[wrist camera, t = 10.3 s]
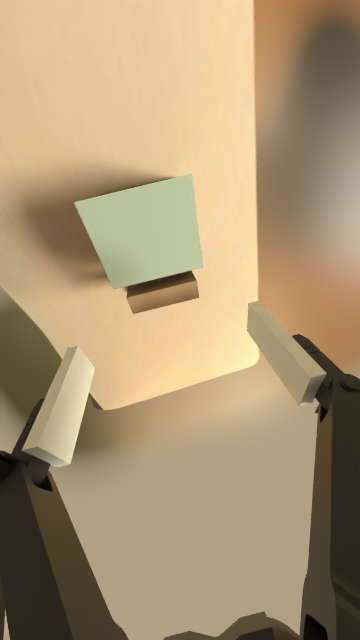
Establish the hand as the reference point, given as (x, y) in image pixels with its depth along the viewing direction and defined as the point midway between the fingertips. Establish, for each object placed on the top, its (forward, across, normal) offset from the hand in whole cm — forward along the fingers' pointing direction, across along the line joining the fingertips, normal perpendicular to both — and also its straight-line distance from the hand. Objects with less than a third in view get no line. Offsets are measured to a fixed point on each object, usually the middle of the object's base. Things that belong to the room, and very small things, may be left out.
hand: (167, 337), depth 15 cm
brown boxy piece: (+21, 0, -2) cm, 21 cm away
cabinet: (+21, 0, +2) cm, 21 cm away
